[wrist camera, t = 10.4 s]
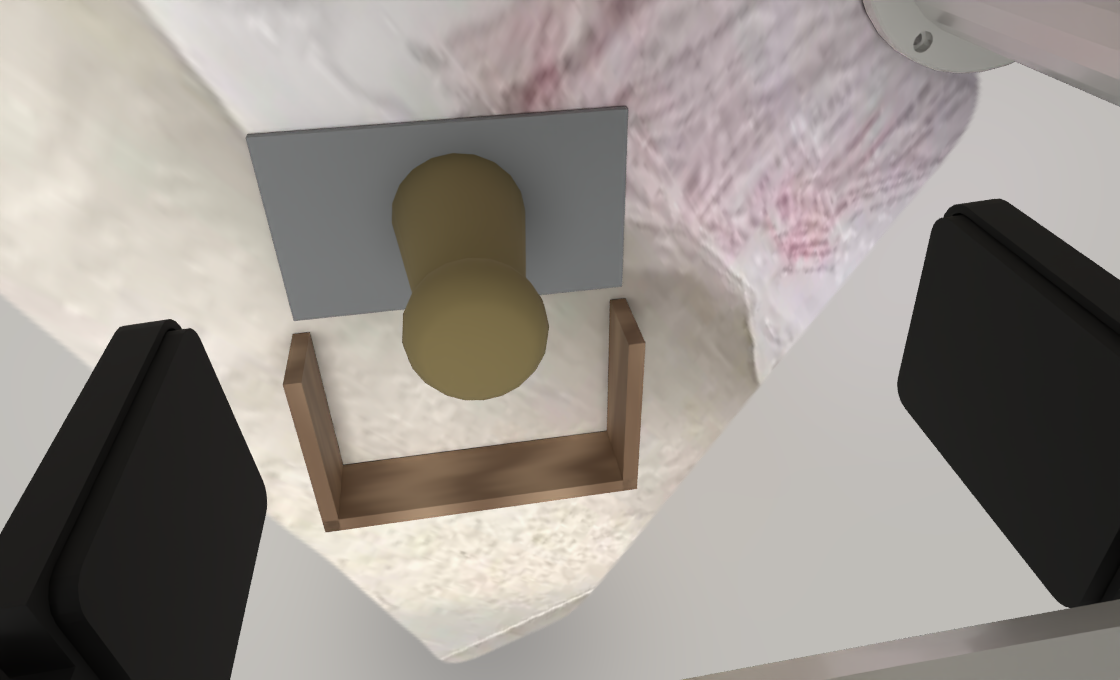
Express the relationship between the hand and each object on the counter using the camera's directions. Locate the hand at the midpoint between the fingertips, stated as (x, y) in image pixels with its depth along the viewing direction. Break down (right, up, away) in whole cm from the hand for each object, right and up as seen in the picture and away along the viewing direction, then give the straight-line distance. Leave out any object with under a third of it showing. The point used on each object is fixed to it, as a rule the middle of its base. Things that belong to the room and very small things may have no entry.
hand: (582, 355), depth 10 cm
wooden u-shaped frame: (-5, -2, +31) cm, 32 cm away
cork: (-5, +6, +25) cm, 26 cm away
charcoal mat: (-5, +6, +25) cm, 26 cm away
